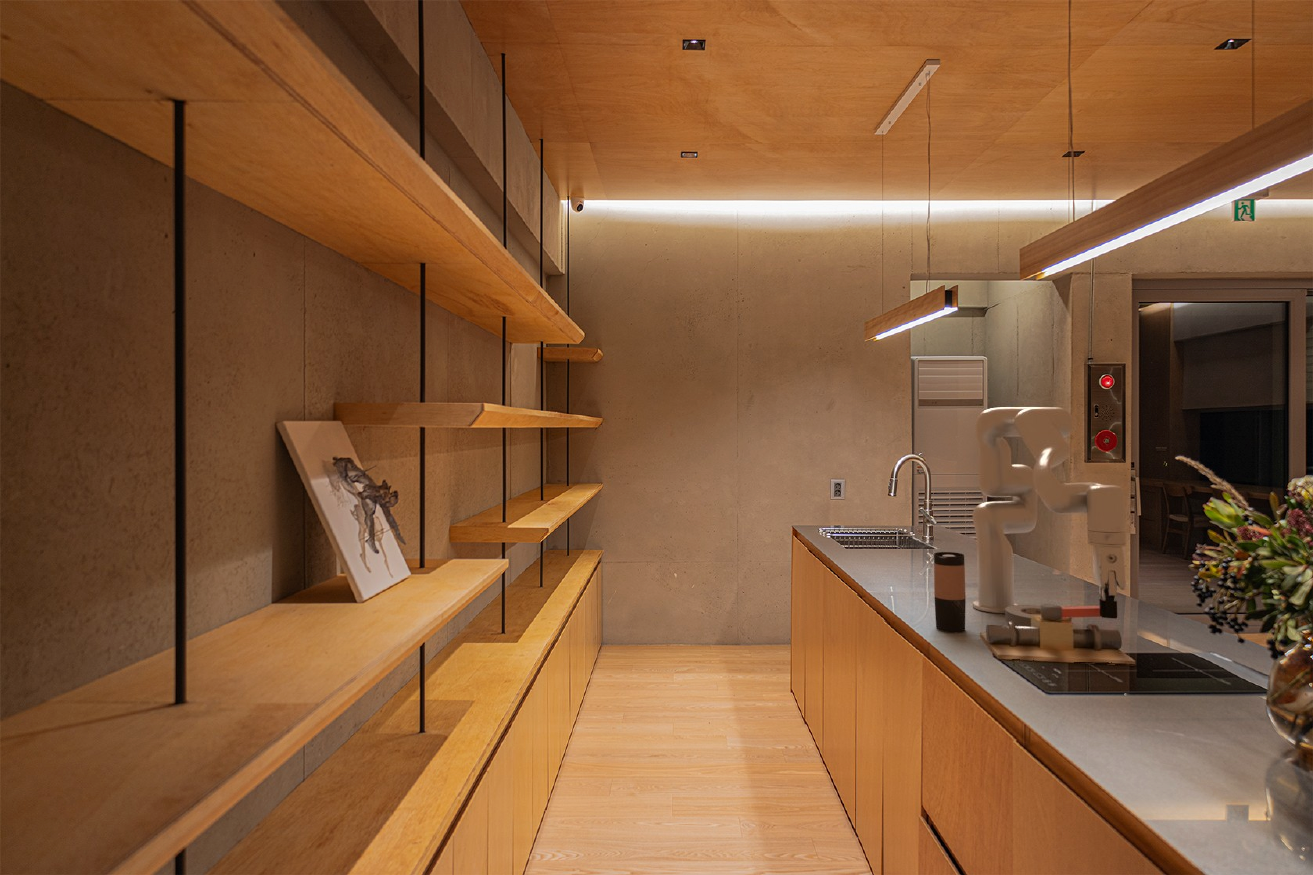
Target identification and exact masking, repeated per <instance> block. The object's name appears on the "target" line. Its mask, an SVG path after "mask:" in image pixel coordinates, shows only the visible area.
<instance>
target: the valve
mask: <svg viewBox="0 0 1313 875" xmlns="http://www.w3.org/2000/svg"><path fill="white" fill-rule="evenodd" d="M985 633H986V636H987V641H988V643H990V644H1009V645H1010V646H1011V647H1016V646H1017V645H1036V646H1037V647H1038V648H1039V649H1040V650H1062V651H1074V649H1073V647H1082V648H1092V649H1094V650H1095V651H1101V649H1102V648H1104V649H1119V650H1120V649H1121V648H1122V644H1123V641H1122V640H1123V639H1122V635H1121V633H1120V630H1118V629H1112V628H1110V629H1109V628H1100V627H1099V626H1098V625H1097V624H1095V623H1094V624H1093V623H1092V624H1090V623H1089V624H1087V626H1086V627H1085V628H1083V627H1082V628H1081V627H1074V623H1073V622H1071V621H1069V620H1068V619H1067V618H1062V619H1060V620H1051V619H1045V618H1042V617H1041V615H1035V614H1031V626H1015V624H1014V622H1013V621H1006V622H1005V621H1004V625H1003V624H987V625H986V628H985Z"/></svg>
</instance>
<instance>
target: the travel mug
mask: <svg viewBox="0 0 1313 875" xmlns="http://www.w3.org/2000/svg"><path fill="white" fill-rule="evenodd" d="M933 563H934V564H933V573H934V574H933V580H934V581H933V582H934V583H933V584H934V592H933V594H934V610H935V611H934V612H935V614H934V615H935V629H937V630H938V631H940V632H944V633H949V634H951V633H952V634H959V633H963V632H965V631H966V604H967V602H966V600H967V599H966V596H967V595H966V571H965V569H966V568H965V567H966V566H965V565H966V564H965V554H963V553H962V552H961V553H959V552H953V551H940V552H939V551H938V552H934V554H933Z"/></svg>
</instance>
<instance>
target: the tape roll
mask: <svg viewBox="0 0 1313 875" xmlns="http://www.w3.org/2000/svg"><path fill="white" fill-rule="evenodd" d="M1004 614H1005V615H1004V623H1005V622H1006V621H1013V622H1014V624H1015V626H1031V614H1035V615H1041V605H1038V604H1037V605H1035V604H1018V605H1013V606H1008V607H1006V608H1005V613H1004ZM1072 618H1073V617H1067V619H1068V620H1069V621H1071V622H1072ZM1072 623H1073V622H1072Z"/></svg>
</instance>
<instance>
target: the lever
mask: <svg viewBox="0 0 1313 875" xmlns="http://www.w3.org/2000/svg"><path fill="white" fill-rule="evenodd" d="M1040 606H1041V617H1042V618H1045V619H1051V620H1060V619H1062V618H1067V617H1072V618H1094V617H1095V618H1099V617H1100V618H1102V617H1101V616H1100V605H1078V606H1077V605H1075V606H1074V605H1071V606H1061V605H1057V604H1051V603H1050V604H1049V603H1044V604H1043V603H1042V604H1040Z"/></svg>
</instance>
